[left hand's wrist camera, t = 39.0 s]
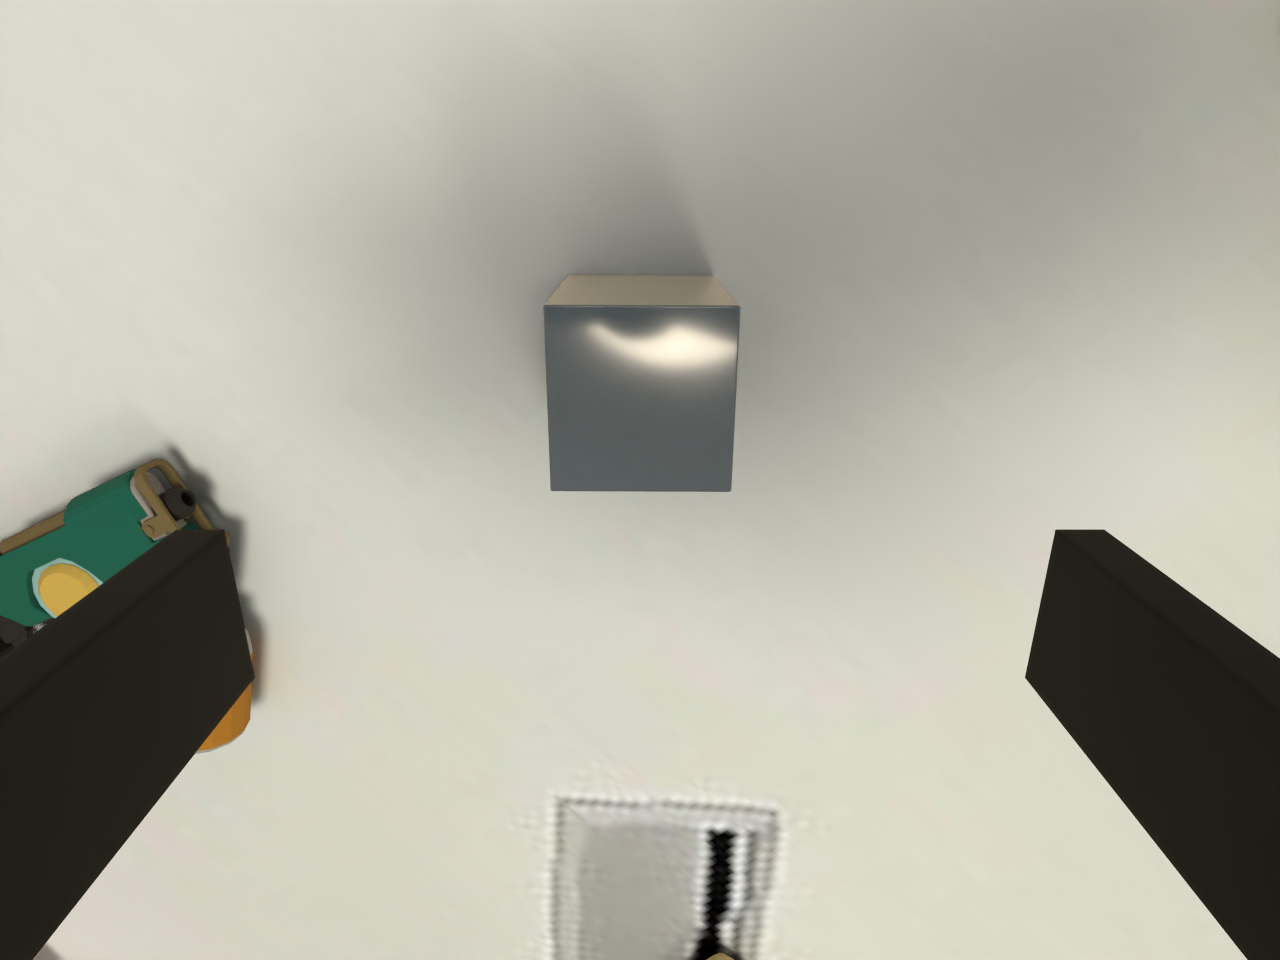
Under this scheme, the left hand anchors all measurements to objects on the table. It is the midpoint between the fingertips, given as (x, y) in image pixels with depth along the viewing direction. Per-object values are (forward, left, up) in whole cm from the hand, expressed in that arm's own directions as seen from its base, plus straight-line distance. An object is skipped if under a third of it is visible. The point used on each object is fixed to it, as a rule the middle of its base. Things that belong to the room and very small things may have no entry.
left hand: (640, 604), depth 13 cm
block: (0, 0, -21) cm, 21 cm away
